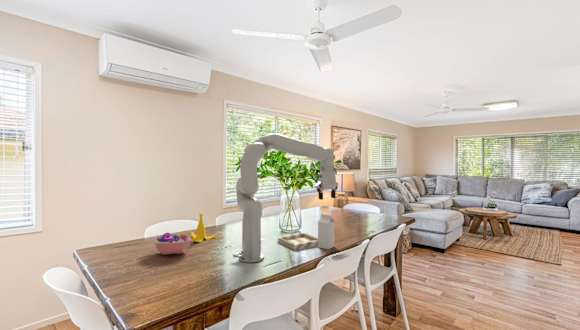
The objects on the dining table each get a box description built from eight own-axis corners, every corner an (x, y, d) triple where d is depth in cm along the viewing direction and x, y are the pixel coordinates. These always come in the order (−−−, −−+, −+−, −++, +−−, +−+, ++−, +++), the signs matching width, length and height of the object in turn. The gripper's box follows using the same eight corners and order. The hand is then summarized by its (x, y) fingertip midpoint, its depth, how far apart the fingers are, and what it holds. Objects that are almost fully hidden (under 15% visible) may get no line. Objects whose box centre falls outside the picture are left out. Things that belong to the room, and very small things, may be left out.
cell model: (180, 260, 141) (180, 238, 141) (145, 257, 145) (145, 236, 145) (198, 250, 158) (198, 230, 157) (166, 247, 162) (166, 228, 161)
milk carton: (328, 249, 159) (328, 216, 159) (317, 247, 164) (318, 215, 163) (334, 246, 165) (334, 214, 164) (323, 244, 169) (324, 213, 169)
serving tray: (294, 250, 158) (294, 245, 158) (277, 242, 172) (277, 237, 172) (321, 244, 169) (321, 239, 169) (303, 237, 184) (303, 232, 184)
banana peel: (192, 245, 167) (192, 217, 166) (189, 236, 184) (189, 211, 184) (220, 241, 174) (220, 214, 173) (215, 234, 191) (215, 209, 191)
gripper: (319, 170, 155) (319, 200, 156) (342, 169, 165) (342, 198, 165) (311, 169, 161) (311, 199, 162) (333, 168, 171) (333, 196, 172)
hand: (327, 198), depth 164 cm, fingers open, 9 cm apart
